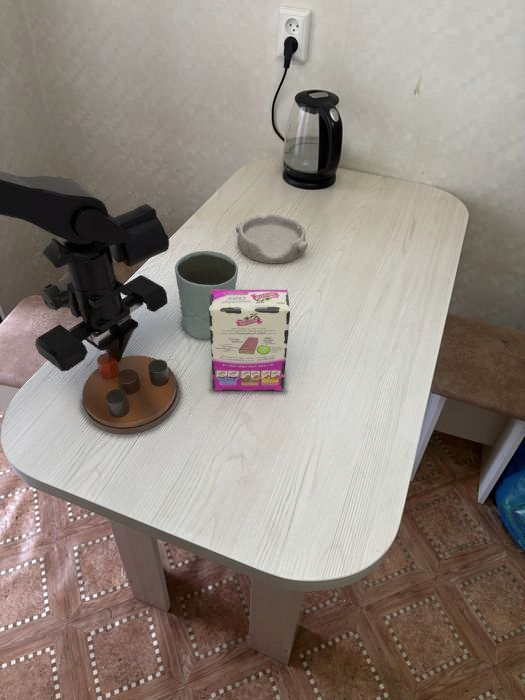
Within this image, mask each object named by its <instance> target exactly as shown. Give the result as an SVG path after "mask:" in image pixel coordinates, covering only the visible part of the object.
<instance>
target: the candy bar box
mask: <svg viewBox="0 0 525 700" xmlns="http://www.w3.org/2000/svg"><path fill="white" fill-rule="evenodd" d="M290 321H291V307H290V300H289V289H235V290H223V289H211V295H210V304H209V323H210V339H209V340H210V356H211V357H210V358H211V375H212V390H213V392H214V391H215V392H257V391H258V392H265V391H266V392H275V391H276V392H278V391H280V392H283V391H284V387H285V376H286V375H285V374H286V364H287V363H286V362H287V352H288V351H287V350H288V341H289V331H290V329H289V328H290Z"/></svg>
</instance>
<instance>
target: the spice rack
mask: <svg viewBox="0 0 525 700" xmlns="http://www.w3.org/2000/svg"><path fill="white" fill-rule="evenodd" d="M96 362H97V366H98V367H97V368H96V369H94V371H92V372H91V374H90V375H89V376H88V378H87V379H86V380H85V383H84V385H83V387H82V402H83V401H84V405H85V408H86V410H87V411H88V413H89V414H90V415H91V416H92V417H93V418H94V419H95V420H97V421H98V422H100V423H103V424H105V425H108V426H113V427H121V428H124V427H135V426H139V425H143V424H146V423H148V422H150V421H153V420H154V419H156V418H158V417H159V416H161V415H162V414H163V413H164V412H165V411H166V410H167V409H168V408H169V407H170V406H171V404H172V402H173V400H174V398H175V395H176V381H177V379H176V377H175V374H174V372H173V370H172V369H171V368H170V367H169V366H168V363H167V362H166V361H165V360H164V359H157V358H156V357H155V358H154V357H151V356H146V355H139V354H138V355H125V356H122V358H121V360H120V362H117V360H116V359H115V358H113V357H112V356H110V355H109V354H108V353H107V352H104V353H101V354H100V355H99V356H98V357H97V359H96ZM175 379H176V380H175Z"/></svg>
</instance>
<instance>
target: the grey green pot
mask: <svg viewBox="0 0 525 700" xmlns="http://www.w3.org/2000/svg"><path fill="white" fill-rule="evenodd" d="M174 273H175V279H176V285H177V289H178V292H177V293H178V297H179V301H180V302H179V305H180V310H181V311H180V312H181V315H182V326H183V328H184V330H185V331H186V333H187V334H188V335H189V336H191V337H194V338H196V339H199V340H210V323H209V304H210V295H211V289H223V290H237V288H236V287H237V280H238V274H239V267H238V264H237V262H236V261H235V260H234V259H233V258H232V257H231V256H228V255H226V254H224V253H222V252H218V251H212V250H200V251H193V252H190V253H188V254H185V255H184V256H182V257H181V258H180V259H178V260H177V262H176V263H175V266H174Z"/></svg>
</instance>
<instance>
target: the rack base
mask: <svg viewBox="0 0 525 700" xmlns="http://www.w3.org/2000/svg"><path fill="white" fill-rule="evenodd" d="M175 380H176V395H175V398H174V400H173V402H172V404H171V406H170V407H169V408H168V409H167V410H166V411H165V412H164V413H163V414H162V415H161V416H159V417H158V418H156V419H154V420H153V421H150V422H148V423H146V424H143V425H139V426H135V427H124V428H121V427H113V426H108V425H105V424H103V423H100V422H98V421H97V420H95V419H94V418H93V417H92V416H91V415H90V414H89V413H88V411H87V410H86V408H85V405H84V401H83V400H82V406H83V409H84V412H85V416H86V417H87V419H88V420H89V421H90V423H91V424H93V426H95V427H96V428H98V429H100V430H101V431H104V432H106V433H109V434H114V435H134V434H135V435H136V434H139V433H143V432H146V431H150V430H151V429H154V428H155V427H157V426H159V425H161V424H162V423H163V422H164V421H166V420H167V419H168V418H169V417H170V416H171V414H172V413H173V412H174V410H175V408H176V406H177V405H178V401H179V386H178V382H177V379H176V378H175Z"/></svg>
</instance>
